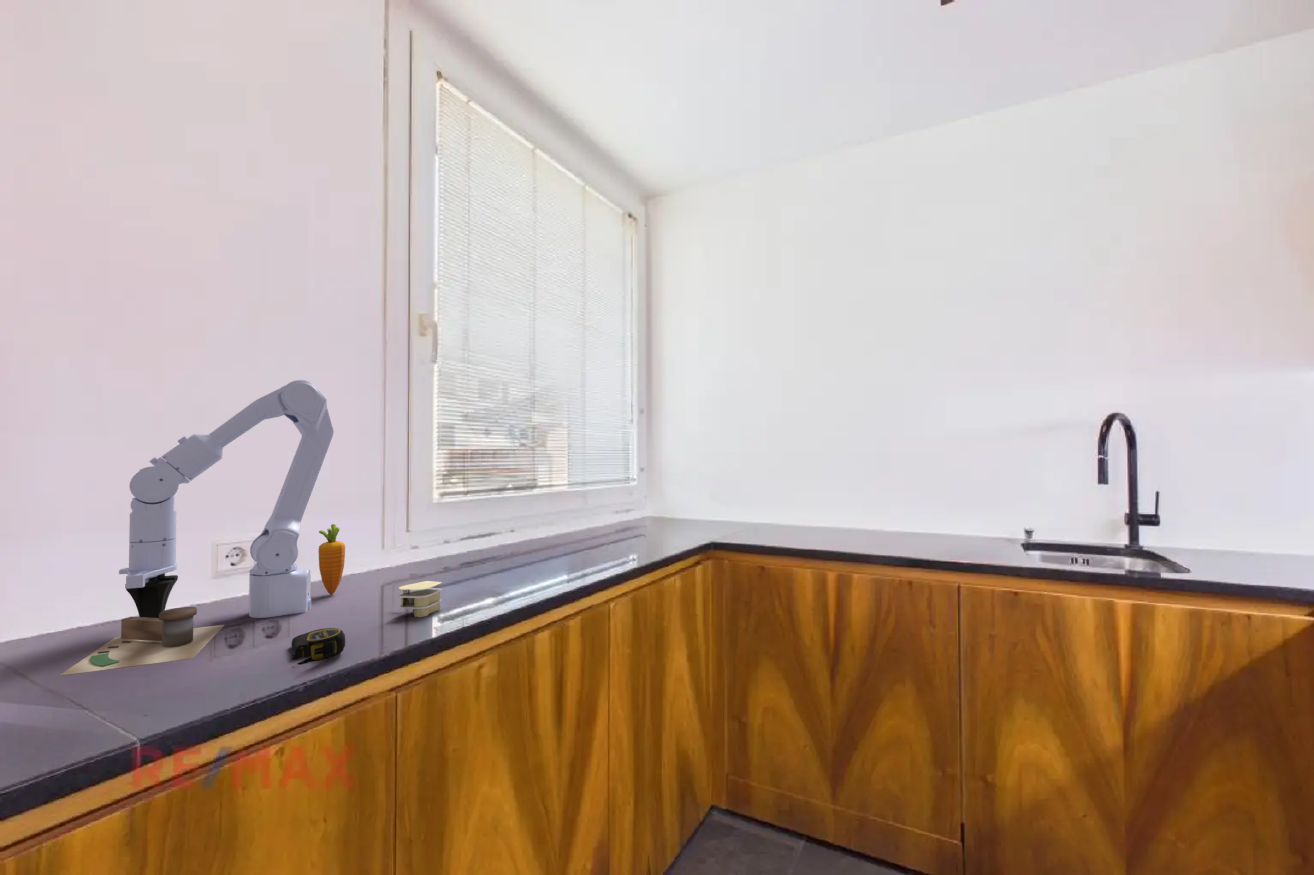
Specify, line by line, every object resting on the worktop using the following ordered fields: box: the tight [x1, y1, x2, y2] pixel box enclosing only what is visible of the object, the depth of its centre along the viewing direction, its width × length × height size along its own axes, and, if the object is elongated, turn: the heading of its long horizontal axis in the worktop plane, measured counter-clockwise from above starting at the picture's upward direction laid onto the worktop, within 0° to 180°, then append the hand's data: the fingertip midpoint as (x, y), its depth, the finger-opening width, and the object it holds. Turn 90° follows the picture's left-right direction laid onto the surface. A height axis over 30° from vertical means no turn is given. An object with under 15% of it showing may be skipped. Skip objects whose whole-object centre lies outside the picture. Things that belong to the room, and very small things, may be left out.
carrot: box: [318, 523, 346, 596], centre depth 120 cm, size 5×5×15 cm
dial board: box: [58, 624, 225, 677], centre depth 84 cm, size 14×17×2 cm
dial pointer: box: [120, 606, 198, 647], centre depth 86 cm, size 12×4×5 cm, turn 81°
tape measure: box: [291, 627, 346, 666], centre depth 83 cm, size 7×7×4 cm
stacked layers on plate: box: [398, 580, 444, 618], centre depth 106 cm, size 10×9×6 cm
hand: (151, 623), depth 91 cm, fingers closed
